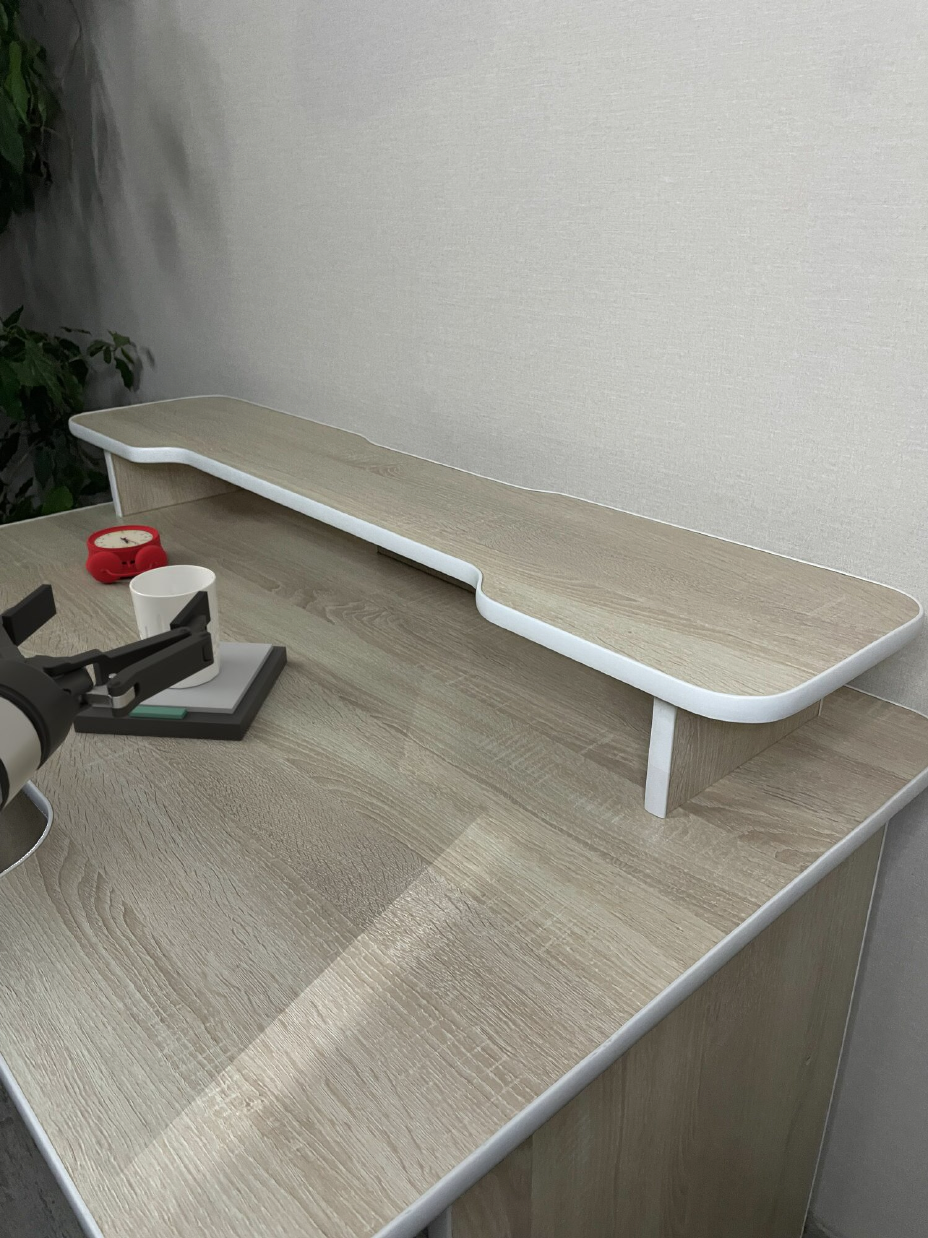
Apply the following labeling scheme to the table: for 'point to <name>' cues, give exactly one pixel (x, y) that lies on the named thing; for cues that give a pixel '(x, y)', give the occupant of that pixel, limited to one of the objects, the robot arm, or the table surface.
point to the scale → (201, 700)
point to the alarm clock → (124, 552)
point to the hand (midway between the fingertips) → (127, 602)
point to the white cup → (175, 607)
